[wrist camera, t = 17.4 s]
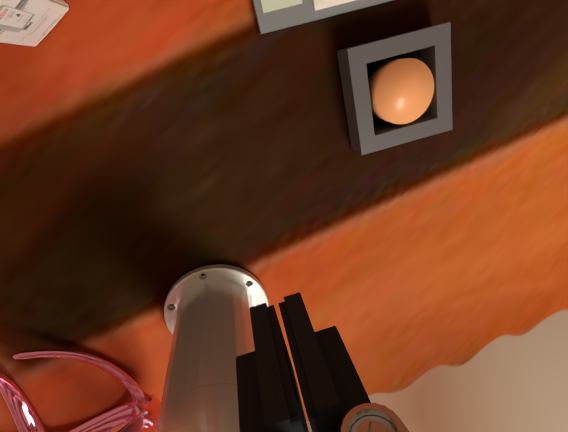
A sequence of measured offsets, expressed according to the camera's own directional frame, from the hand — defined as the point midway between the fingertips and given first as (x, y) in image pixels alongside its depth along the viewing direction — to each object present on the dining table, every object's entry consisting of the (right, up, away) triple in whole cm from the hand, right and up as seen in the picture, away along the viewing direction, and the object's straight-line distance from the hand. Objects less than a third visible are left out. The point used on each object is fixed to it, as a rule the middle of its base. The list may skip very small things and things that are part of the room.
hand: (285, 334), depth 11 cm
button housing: (+11, +17, +25) cm, 32 cm away
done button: (+11, +17, +24) cm, 31 cm away
